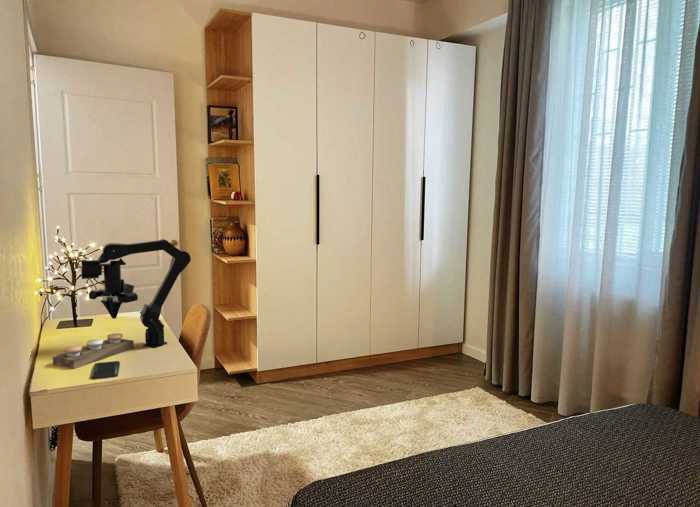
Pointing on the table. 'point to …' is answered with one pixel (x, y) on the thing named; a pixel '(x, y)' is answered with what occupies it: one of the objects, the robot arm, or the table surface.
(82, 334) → the table surface
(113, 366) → the phone
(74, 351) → the knob
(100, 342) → the middle knob
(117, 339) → the knob
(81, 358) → the knob mount
